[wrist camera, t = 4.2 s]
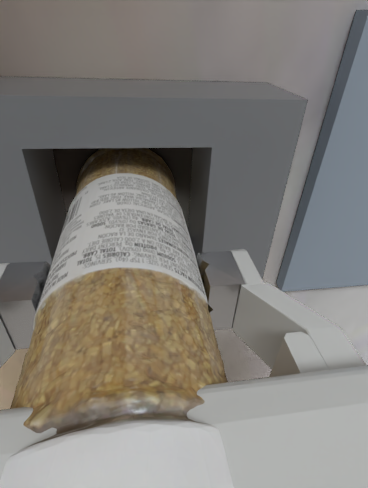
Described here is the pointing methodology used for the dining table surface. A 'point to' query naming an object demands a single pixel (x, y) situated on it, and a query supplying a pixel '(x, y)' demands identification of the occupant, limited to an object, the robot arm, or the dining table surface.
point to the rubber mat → (336, 185)
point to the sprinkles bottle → (121, 342)
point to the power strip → (149, 136)
